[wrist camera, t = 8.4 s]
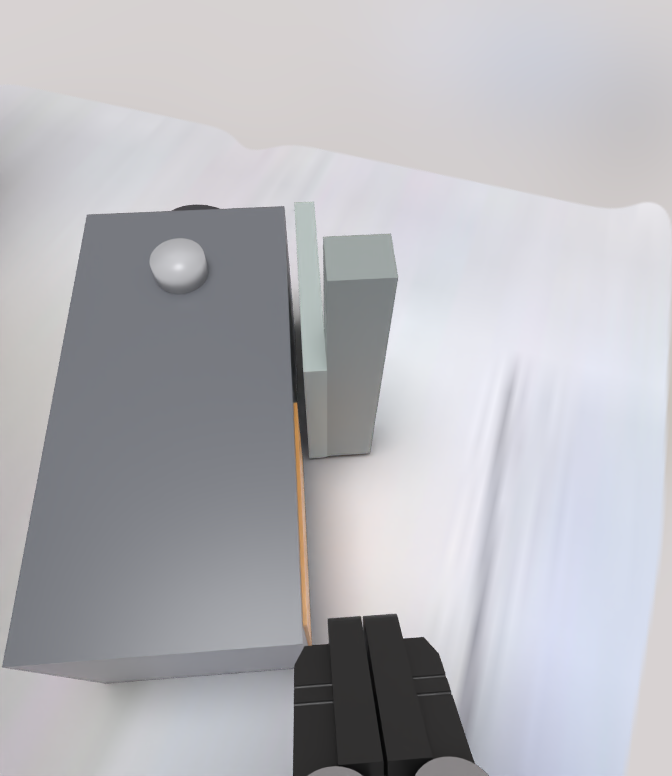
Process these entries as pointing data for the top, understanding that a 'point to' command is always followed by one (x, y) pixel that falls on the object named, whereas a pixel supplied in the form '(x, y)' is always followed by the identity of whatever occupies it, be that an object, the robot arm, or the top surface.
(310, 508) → the top surface
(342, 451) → the side door
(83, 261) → the block
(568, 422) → the top surface
